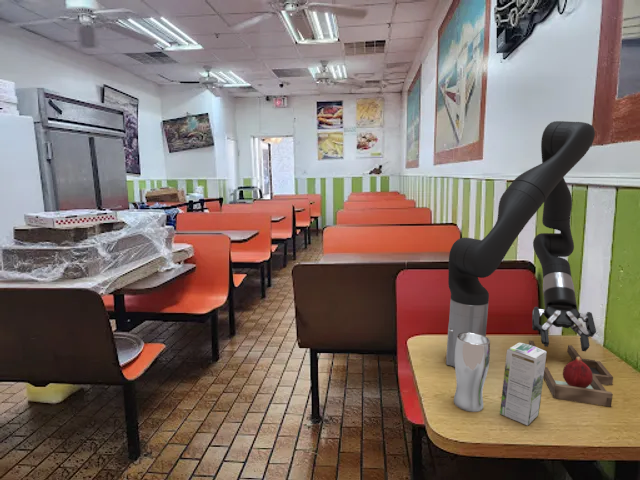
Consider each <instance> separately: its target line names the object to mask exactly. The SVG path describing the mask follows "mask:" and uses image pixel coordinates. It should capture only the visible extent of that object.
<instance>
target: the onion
mask: <svg viewBox="0 0 640 480" xmlns="http://www.w3.org/2000/svg"><path fill="white" fill-rule="evenodd" d="M580 357H581V356H580ZM580 357H576V360H575V361H573V360H571V361H570V362H567V364H565V365H564V367H563V371H562V377H563V379H564V382H566V383H567V384H568V385H569V386H574V387H581V388H587V387H588V386H589V385H590V384H591V383H592V379H593V376H592V372H591V370H590V368H589V367H588V366H587V365H586V364H585V363H584V362H582V360H581V358H582V357H581V358H580ZM590 386H591V385H590Z"/></svg>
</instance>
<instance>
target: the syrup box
mask: <svg viewBox="0 0 640 480" xmlns="http://www.w3.org/2000/svg"><path fill="white" fill-rule="evenodd" d="M546 359H547V351H546V350H544V349H542V348H539V347H537V346H536V347H534V346H531V345H529V343H528V344H527V343H524V342H517V343H516V344H515V345H513V346H510V347H509V348H508V349H506V356H505V364H504V365H505V366H504V374H503V380H502V381H503V383H502V391H501V392H502V393H501V401H500V410H499V414H500V415H502V416H504V417H506V418H508V419H511V420H513V421H516V422H518V423H519V424H523V425H525V426H527V427H528V426H530V424H531V423H533V421H535V419H537V417H539V416H540V410H541V409H540V408H541V400H542V394H543V393H542V392H543V391H542V390H543V384H544V369H545V367H546Z"/></svg>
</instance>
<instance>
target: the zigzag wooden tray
mask: <svg viewBox="0 0 640 480" xmlns="http://www.w3.org/2000/svg"><path fill="white" fill-rule="evenodd" d="M528 345H531V346H534V347H537V345H536V343H535V342H534V340H528ZM566 351H567V353H568V355H569V357H571V359H572V361H575V360H576V357H580V358H581V360H582V362H584V363H585V364H586V365H587V366H588V367H589V368H590V370H591V372H592V376H593V379H592V383H591V384H590V385H589V386H588V387H587V388H581V387H574V386H569V385H568V384H567V383H566V381H563V380H555V379H554V377H553V375H552V373H551V371H550V369H549V368H548V366H545V369H544V378H543V380H544V381H545V384H546V385H547V387H548V389H549V391H550V392H551V396H552V397H553V399H558V400H562V401H568V402H575V401H576V403H582V402H584V403H583V404H588V403H591V404H590V405H594V404H598V405H597V406H601V405H603V406H602V407H607V406H608V408H612V403H613V392H612V391H607V390H606V388H605V387H604V386H609V385H610V386H613V383H614V382H613V381H614V376H613V375H612V374H611V373H610V372H609V370H608V369H607V368H606V367H605V366H604V364H603V363H602V362H601V361H599V360H595V359H589V358H582V357H581V355H580V354H579V353H578V352H577V350H576V348H575V347H574V346H573V345H571V344H570V345H569V344H568V345H567V350H566Z"/></svg>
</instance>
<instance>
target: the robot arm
mask: <svg viewBox="0 0 640 480" xmlns="http://www.w3.org/2000/svg"><path fill="white" fill-rule="evenodd" d="M595 136H596V131H595V128H594V126H593V125H591V124H590V123H587V122H583V121H564V120H559V121H558V120H556V121H551V122H549V124H547V125H546V127H545V128H544V130H543V132H542V135H541V140H540V147H541V148H540V151H541V152H540V153H541V163H540V164H538V165H536V166H534V167H532V168H530V169H528V170H526V171H524V172H523V173H521V174H520V175H518V176H516V178H514V180H513V181H512V182H511V183H510V184H509V186H508V187H507V188H506V189H505V190H504V192H503V193H502V195H501V197H500V199H499V202H498V208H497V218H496V221H495V224H494V226H493V227H492V229H490V231H489V233H487V235H486V236H485V237H484V238H482V239H477V238H472V237H461V238H458V239H457V240H455V241H454V243H453V244H452V246H451V248H450V250H449V255H448V272H447V275H448V277H447V278H448V289H449V291H450V292H449V293H450V303H449V318H448V319H449V320H448V324H447V325H448V327H447V339H446V340H447V343H446V353H445V354H446V357H445V359H446V362H445V364H446V365H447V366H451V367H454V368H455V347H456V341H457V335H458V334H460V333H476V334H481V335H483V336H486V335H487V324H488V314H489V313H488V312H489V310H488V309H489V301H490V295H489V294H490V293H489V291H488V290H487V288H485V286H483V284H481V282H480V280H479V278H481V279H482V278H483V279H484V278H487V277H490V276H491V275H492V274H494V272H495V271H496V270H497V269H498V268H499V266H500V265H501V263H502V262H503V260H504V259H505V256H506V255H507V254H508V252H509V250H510V249H511V247H512V245H513V244H514V242H515V240H517V238H518V237H519V235H520V234H521V232H522V231H523V230H524V228H525V227H526V226H527V224H528V223H529V221H531V220H532V218H533V216H535V214H536V213H537V212H538V210H539V209H540V208H541V207H542V206H543V209H542V219H541V221H542V222H541V223H542V224H543V226H544V227H546V228H548V229H550V230H555V231H556V230H557V231H559V232H560V233H556V232H555V233H551V232H549V233H548V232H546V233H545V232H542V233H541V232H540V233H538V234H537V235H536V236H534V239H533V240H532V241H533V242H532V247H533V251H534V253H535V255H536V257H537V259H538V262H539V263H540V266H541V271H542V280H543V281H542V282H543V283H542V292H543V301H544V309H542V308H539V307H538V306H534V308H533V310H532V311H531V312H532V316H531V317H532V318H531V319H532V320H531V324H532V330H533V331H537V332H539V333H540V342H541V344H542V345H543V347H547V348H548V347H549V346H550V338H549V329H550V328H551V327H552V326H555V328H564V329H571V330H572V331H573V332H574V333H576V334H577V335H578V336H579V342H580V348H581V352H587V350H589V348H590V346H591V345H590V341H589V340H590V339H589V337H590V338H592V337H594V335H595V334H596V333H597V329H596V324H595V321H594V316H593V313H592V312H591V311H587V312H585V313H583V312H582V313H580V311H579V310H578V304H577V298H576V297H577V296H576V292H575V285H574V282H573V278H572V271H571V265H570V262H569V261H568V260H567V259H565V258H566V257H569V256H571V254H572V253H573V252H574V250H575V245H574V240H573V239H574V238H573V236H572V232H571V231H572V230H571V216H572V215H571V214H572V209H573V197H572V193H571V190H570V188H569V186H568V184H567V182H566V180H565V178H564V177H565V176H566V175H567V174H568V173H570V171H571V170H572V169H573V168H574V167H575V166H576V165H577V164H578V163H579V162H580V161H581V160H582V159H583V158H584V157H585V155H586V154H587V153H588V151H589V150H590V149H591V146H592V145H593V142H594V139H595ZM542 315H543V316H544V317H545V318H546V321H545V323H543V324H542V325H541V324H540V318H541V317H542ZM579 319H581V321H582V322H583V323H584V324H585V327H586V328H585V327H584V326H583V323H582V322H581V321H580V320H579ZM486 337H487V336H486Z"/></svg>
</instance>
